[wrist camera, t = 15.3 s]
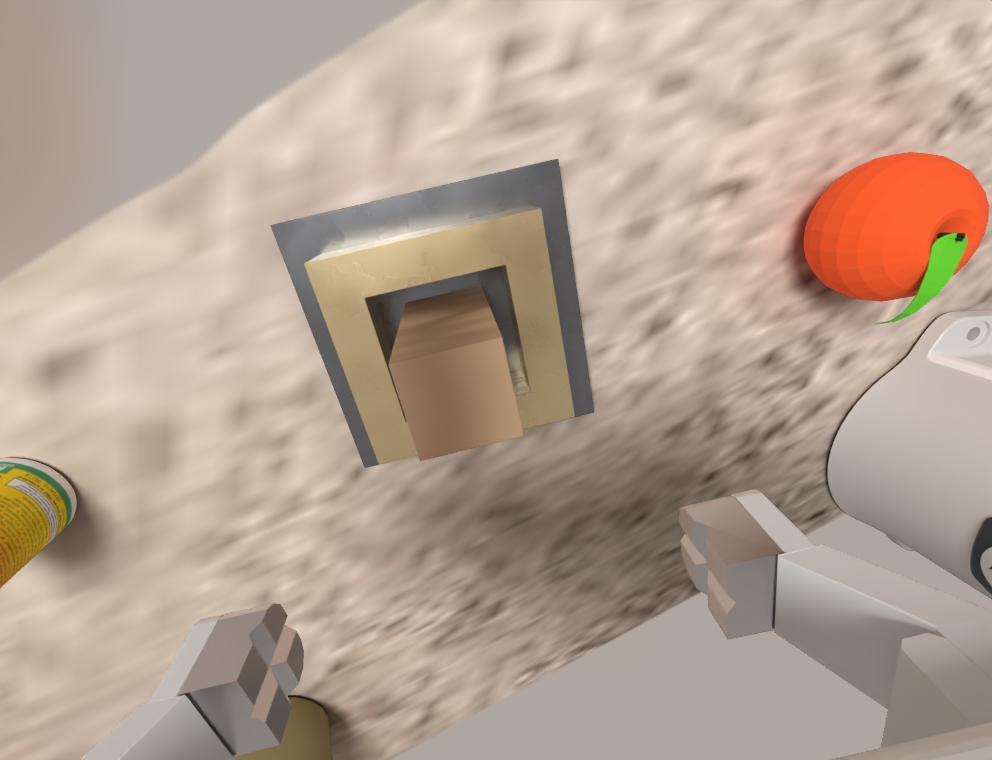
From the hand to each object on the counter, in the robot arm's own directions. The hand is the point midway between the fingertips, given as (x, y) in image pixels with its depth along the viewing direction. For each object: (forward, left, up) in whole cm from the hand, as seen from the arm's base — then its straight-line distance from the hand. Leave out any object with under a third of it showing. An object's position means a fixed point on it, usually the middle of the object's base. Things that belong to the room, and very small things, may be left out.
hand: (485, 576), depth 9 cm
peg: (0, 0, -17) cm, 17 cm away
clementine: (-22, 0, -18) cm, 28 cm away
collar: (0, 0, -18) cm, 18 cm away
